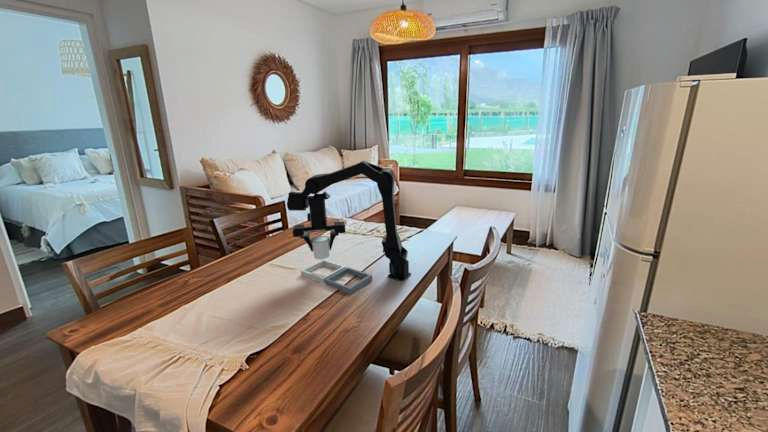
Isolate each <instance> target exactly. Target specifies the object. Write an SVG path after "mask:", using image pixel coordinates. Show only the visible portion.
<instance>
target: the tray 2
mask: <svg viewBox="0 0 768 432" xmlns="http://www.w3.org/2000/svg"><path fill="white" fill-rule="evenodd" d="M347 274H348V275H349V274H350V275H353V276H355V277H359V278H361V280H358V282H356V283H354V284H353V285H351V286H348V285H345V284H342V283H339V282H336V281H337V280H338V279H340V278H342V277H344V276H345V275H347ZM371 281H373V274H371V273H367V272H364V271H361V270H357V269H354V268H351V267H349V266H347V267H346V268H345V269H343V270H341V271H340V272H338V273H336V274H334V275H332V276H330V277H329V278H327V279H325V283H324V284H325V286H328V287H330V288H333V289H336V290H338V291H342V292H344V293H347V294H349V295H351V294H353V293H354V292H356V291H358V290H359V289H361V288H362V287H364V286H365V285H367V284H369V283H370V282H371Z"/></svg>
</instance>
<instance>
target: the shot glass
mask: <svg viewBox="0 0 768 432" xmlns="http://www.w3.org/2000/svg"><path fill="white" fill-rule="evenodd" d="M311 243H312V248H313V252H312V253H313V257H314V259H315V260H323V259H324V260H327V258H328V259H329V257H330V236H327V235H320V236H319V235H318V236H314V237H311Z"/></svg>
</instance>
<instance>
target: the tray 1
mask: <svg viewBox="0 0 768 432" xmlns="http://www.w3.org/2000/svg"><path fill="white" fill-rule="evenodd" d="M323 266H326V267H329V268H332V269H334V271H332V272H330V273H329V274H327V275H325V276H320V275H317V274H315V273H312V272H314V271H315V270H317V269H319V268H321V267H323ZM345 268H347V267H346V266H345V265H342V264H339V263H337V262H333V261H330V260H327V259H320V261H317V262H315V263H314V264H311V265H309V266H307V267H305V268H303V269H301V270H300V276H302V277H304V278H307V279H309V280H313V281H315V282H316V283H317V282H318V283H320V284H323V285H324V284H325V279H327V278H329V277H330V276H332V275H334V274H336V273H338V272H340V271H341V270H343V269H345Z"/></svg>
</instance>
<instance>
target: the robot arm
mask: <svg viewBox="0 0 768 432" xmlns="http://www.w3.org/2000/svg"><path fill="white" fill-rule="evenodd" d="M359 175H363V176H365V177H367V178H368V179H369V180H371V181H372V182H375V183H376V186H377V189H378V191H379V193H380V196H381V199H382V208H383V209H382V210H383V215H384V216H383V219H384V228H385V235H384V236H383V239H382V240H381V245H382V254H384V255H385V257H386V258H387V259H388V260H389V263H388V265H389V267H388V268H389V270H388V271H389V272H388V273H389V274H388V275H387V277H388V278H391V279H394V280H397V281H400V282H403V281H404V280H405V279H407V278H408V277H410V276H411V275H412V273H411V272H409V271H410V270H409V269H410V268H409V266H410V265H409V264H410V262H409V260H407V258H408V252H409V250H407V249H406V248H405V247H404V246H403V244H402V240H401V237H400V235H399V233H398V229H397V218H396V209H395V208H396V206H395V197H394V191H395V181H396V175H395V172H394V170H392V169H391V168H383V167H381V166H379V165H377V164H373V163H370V162H368V161H367V160H361V161H359V162H357V163H355V164H352V165H349V166H347V167H343V168H341V169H340V168H339V169H338V170H336V171H335V170H334V171H332V172H329V173H320V174H319V173H317V174H314V175H313V176H311V177H309V178H307V179H306V180H305V184H304V188H303V190H302V191H301V192H299V191H290V192H288V196H287V197H288V198H287V202H286V206H287V210H288V211H301V212H304V211H306V210H307V209H308V208H309V212H308V213H307V222H309V223H310V226H305V224H304V223H303V224H295V225H294V226H292V227H293V228H292V237H293V238H298V237H300V239H303V240H304V241H305V242H306V244H307V246H308V248H309V249H310V252H312V253H313V248H312V243H311V239H312V237H311V233H314V232H315V233H316V232H327V231H328V232H329V238H330V246H329V251H331V250H332V247H333V244H334V241H335V239H336V237H337V236H339V234H345V233H346V224H345V222H344V221H334V222H333V224H329V225H328V219H327V218H328V217H327V211H326V210H327V208H326V200H328V199H329V198H331V195H330V194H329V193H328V192H327V191H324V190H326V188H328V187H330V186H332V185H334V184H337V183H339V182H342V181H345V180H348V179H351V178H353V177H358V176H359ZM322 191H323V192H322ZM320 192H322V193H320ZM311 194H312V195H311Z"/></svg>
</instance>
